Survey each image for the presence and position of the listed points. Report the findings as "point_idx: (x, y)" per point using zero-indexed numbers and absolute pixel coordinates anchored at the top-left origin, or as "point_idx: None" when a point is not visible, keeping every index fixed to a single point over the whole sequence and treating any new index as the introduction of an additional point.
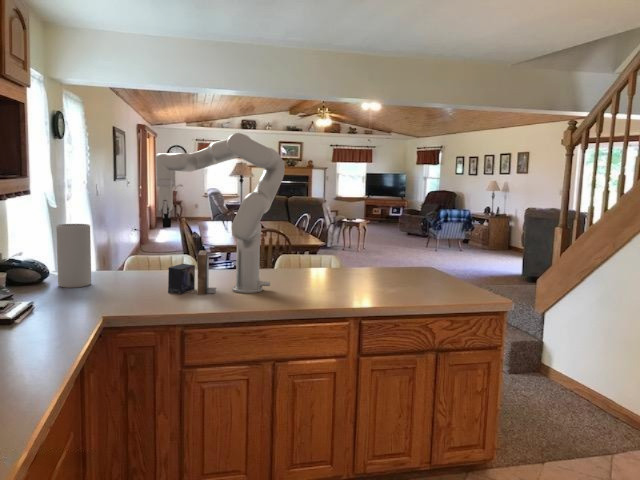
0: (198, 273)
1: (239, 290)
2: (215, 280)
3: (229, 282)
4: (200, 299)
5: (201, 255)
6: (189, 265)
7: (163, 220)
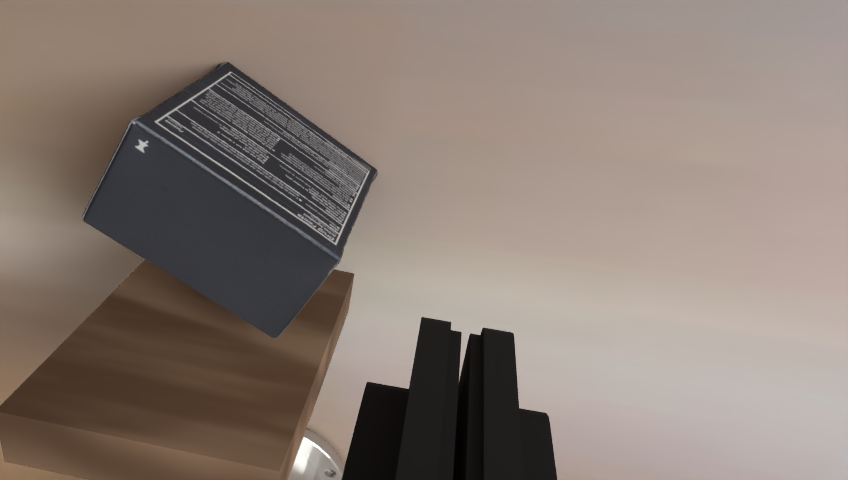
0: (96, 315)
1: None
2: (564, 391)
3: None
4: (57, 232)
5: (1, 433)
6: (244, 299)
7: (397, 454)
